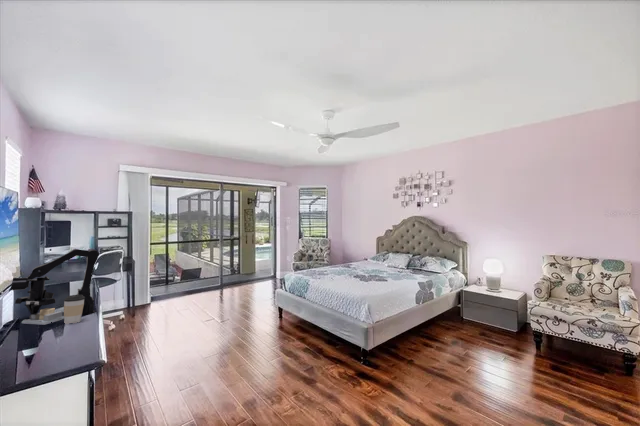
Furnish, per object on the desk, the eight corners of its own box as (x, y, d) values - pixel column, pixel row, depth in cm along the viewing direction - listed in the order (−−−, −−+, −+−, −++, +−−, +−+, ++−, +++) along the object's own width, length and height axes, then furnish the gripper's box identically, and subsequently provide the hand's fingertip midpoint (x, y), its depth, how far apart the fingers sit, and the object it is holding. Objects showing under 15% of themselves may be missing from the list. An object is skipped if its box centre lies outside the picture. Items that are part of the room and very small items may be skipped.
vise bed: (64, 318, 162) (65, 310, 163) (45, 324, 151) (46, 316, 152) (42, 317, 163) (43, 309, 163) (21, 323, 152) (22, 315, 152)
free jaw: (49, 316, 161) (50, 311, 162) (34, 320, 153) (35, 315, 154) (42, 315, 162) (43, 310, 162) (27, 320, 154) (28, 314, 154)
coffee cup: (58, 322, 155) (61, 295, 156) (78, 318, 163) (80, 292, 164) (65, 325, 151) (68, 297, 152) (86, 321, 159) (88, 294, 160)
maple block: (53, 318, 159) (54, 308, 159) (47, 320, 155) (48, 310, 156) (45, 317, 159) (46, 307, 160) (39, 319, 156) (40, 309, 156)
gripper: (66, 286, 166) (63, 313, 165) (37, 284, 167) (34, 311, 166) (46, 290, 155) (43, 318, 154) (16, 288, 156) (12, 316, 155)
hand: (33, 316), depth 158 cm, fingers closed
